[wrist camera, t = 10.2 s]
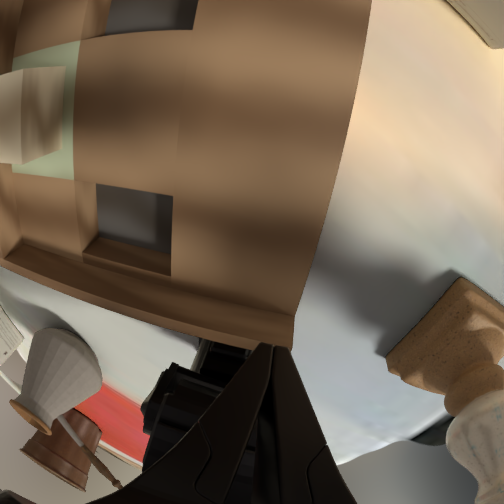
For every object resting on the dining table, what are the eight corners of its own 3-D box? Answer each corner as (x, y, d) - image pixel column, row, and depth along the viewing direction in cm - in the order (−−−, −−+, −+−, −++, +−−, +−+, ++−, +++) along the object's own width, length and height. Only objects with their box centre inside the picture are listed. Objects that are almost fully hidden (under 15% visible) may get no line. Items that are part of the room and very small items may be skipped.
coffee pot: (40, 339, 35) (-11, 408, 22) (50, 302, 30) (-20, 387, 17) (150, 419, 40) (119, 496, 27) (185, 402, 35) (150, 501, 22)
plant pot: (101, 442, 55) (79, 491, 41) (48, 405, 52) (20, 452, 38) (118, 433, 48) (91, 495, 34) (53, 388, 44) (17, 447, 31)
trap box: (293, 300, 24) (288, 357, 18) (38, 236, 25) (0, 265, 20) (368, -37, 10) (389, -78, 5) (46, -18, 12) (-1, -25, 7)
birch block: (62, 148, 17) (22, 164, 13) (15, 146, 17) (-20, 161, 14) (66, 66, 14) (23, 68, 10) (17, 75, 14) (-21, 82, 11)
